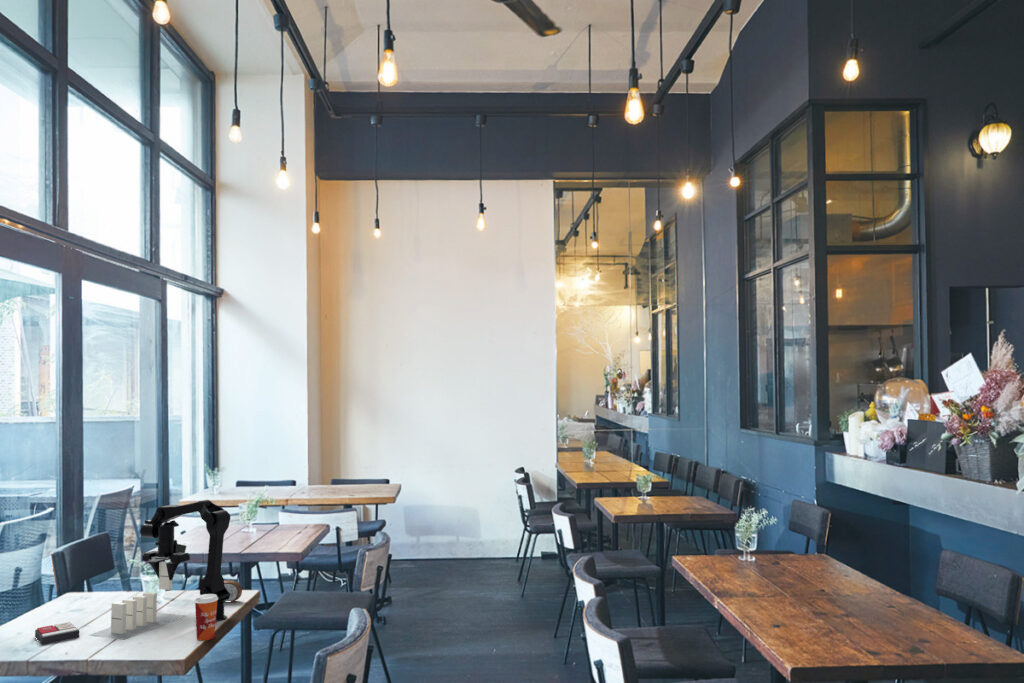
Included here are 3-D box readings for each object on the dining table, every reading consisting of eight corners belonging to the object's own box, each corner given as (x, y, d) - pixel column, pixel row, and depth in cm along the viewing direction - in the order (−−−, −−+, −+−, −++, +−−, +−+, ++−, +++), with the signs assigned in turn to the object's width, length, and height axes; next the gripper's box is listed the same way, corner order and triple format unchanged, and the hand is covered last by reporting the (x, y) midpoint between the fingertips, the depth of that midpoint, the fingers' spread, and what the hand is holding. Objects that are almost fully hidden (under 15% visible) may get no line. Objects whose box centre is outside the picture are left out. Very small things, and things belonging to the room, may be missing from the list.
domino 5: (162, 588, 281) (162, 561, 282) (172, 588, 279) (172, 562, 280) (158, 589, 279) (159, 562, 280) (168, 589, 278) (169, 563, 278)
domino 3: (135, 623, 263) (136, 595, 263) (146, 624, 261) (147, 596, 262) (132, 625, 261) (132, 596, 262) (142, 626, 259) (143, 597, 260)
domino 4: (145, 619, 267) (146, 592, 268) (156, 621, 265) (156, 593, 266) (142, 621, 265) (142, 593, 266) (152, 622, 264) (153, 594, 264)
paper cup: (202, 643, 243) (203, 600, 244) (188, 639, 247) (189, 597, 248) (222, 636, 250) (223, 595, 251) (208, 632, 254) (209, 592, 255)
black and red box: (71, 620, 260) (79, 628, 249) (71, 633, 259) (79, 641, 248) (35, 627, 253) (41, 635, 241) (34, 640, 252) (41, 648, 241)
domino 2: (125, 627, 258) (126, 598, 259) (136, 628, 257) (136, 599, 257) (121, 628, 257) (122, 600, 258) (132, 630, 255) (133, 601, 256)
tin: (242, 601, 294) (242, 579, 295) (238, 603, 291) (238, 581, 292) (207, 600, 296) (207, 579, 296) (203, 602, 293) (203, 581, 293)
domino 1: (114, 631, 254) (115, 602, 255) (125, 632, 252) (126, 603, 253) (110, 632, 253) (111, 603, 253) (121, 634, 251) (122, 604, 252)
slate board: (152, 614, 277) (153, 612, 277) (186, 618, 271) (186, 615, 272) (88, 638, 250) (88, 635, 250) (123, 642, 245) (123, 639, 245)
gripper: (200, 535, 285) (200, 576, 284) (164, 533, 291) (163, 573, 290) (178, 541, 275) (178, 583, 273) (141, 539, 281) (140, 580, 280)
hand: (165, 579), depth 279 cm, fingers closed on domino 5, 5 cm apart
